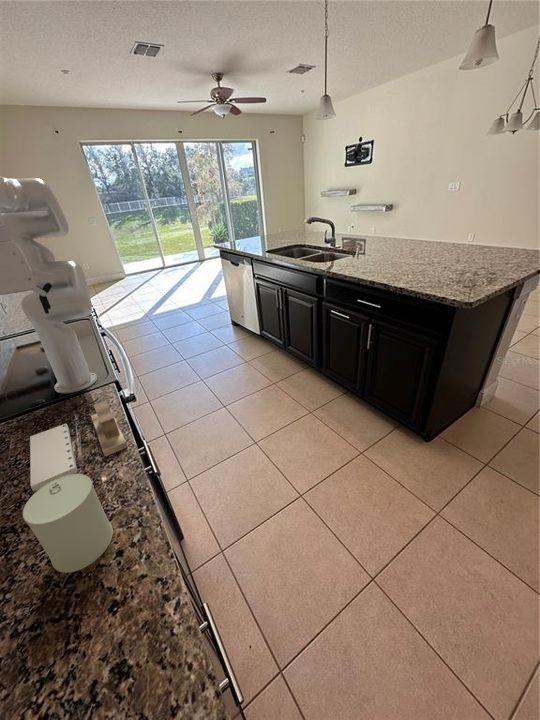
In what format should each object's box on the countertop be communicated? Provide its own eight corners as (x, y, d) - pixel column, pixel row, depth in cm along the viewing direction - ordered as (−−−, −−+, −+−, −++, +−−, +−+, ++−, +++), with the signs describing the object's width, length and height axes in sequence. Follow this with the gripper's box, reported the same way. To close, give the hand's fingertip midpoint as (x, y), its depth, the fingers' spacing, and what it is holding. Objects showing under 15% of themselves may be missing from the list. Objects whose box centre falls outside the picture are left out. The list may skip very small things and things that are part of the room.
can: (103, 509, 57) (82, 462, 52) (121, 542, 51) (99, 493, 46) (46, 544, 51) (16, 495, 46) (59, 586, 45) (25, 535, 40)
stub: (92, 420, 83) (84, 400, 80) (112, 413, 86) (105, 393, 83) (104, 456, 70) (96, 434, 67) (127, 446, 72) (120, 425, 69)
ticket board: (32, 441, 77) (30, 436, 76) (68, 427, 81) (66, 423, 80) (33, 491, 62) (30, 486, 61) (77, 472, 66) (74, 466, 65)
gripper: (-76, 242, 55) (-29, 330, 62) (38, 234, 64) (67, 312, 71) (-66, 241, 60) (-24, 322, 68) (37, 233, 69) (64, 306, 77)
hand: (22, 317), depth 70 cm, fingers open, 9 cm apart
